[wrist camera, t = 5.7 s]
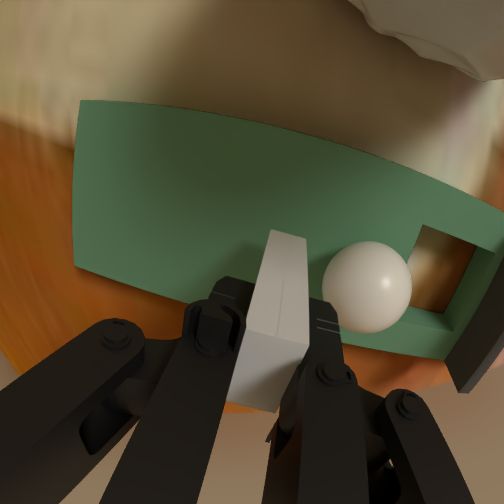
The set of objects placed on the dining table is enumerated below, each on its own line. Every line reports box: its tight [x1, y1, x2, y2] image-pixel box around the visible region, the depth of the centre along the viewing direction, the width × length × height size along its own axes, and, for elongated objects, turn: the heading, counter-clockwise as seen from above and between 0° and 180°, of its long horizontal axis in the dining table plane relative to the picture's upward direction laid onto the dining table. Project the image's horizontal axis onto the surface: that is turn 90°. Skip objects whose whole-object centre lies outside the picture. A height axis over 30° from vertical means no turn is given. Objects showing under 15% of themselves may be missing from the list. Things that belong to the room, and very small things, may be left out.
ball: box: [322, 241, 412, 334], centre depth 13 cm, size 4×4×4 cm
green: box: [72, 100, 504, 393], centre depth 11 cm, size 28×10×12 cm, turn 77°
